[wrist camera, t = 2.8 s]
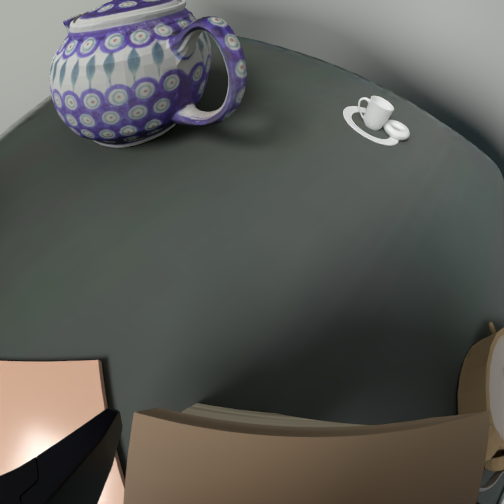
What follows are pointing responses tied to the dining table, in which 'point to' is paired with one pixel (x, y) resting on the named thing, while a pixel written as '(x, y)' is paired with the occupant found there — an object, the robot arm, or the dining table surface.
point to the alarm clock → (486, 395)
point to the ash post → (301, 459)
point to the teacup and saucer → (377, 120)
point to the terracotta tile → (51, 412)
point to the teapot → (141, 71)
